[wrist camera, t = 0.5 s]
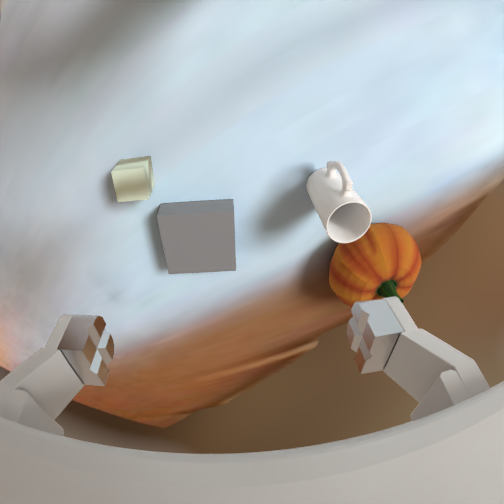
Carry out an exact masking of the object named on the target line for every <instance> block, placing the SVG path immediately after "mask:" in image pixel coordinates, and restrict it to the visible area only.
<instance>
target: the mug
mask: <svg viewBox="0 0 504 504" xmlns="http://www.w3.org/2000/svg"><path fill="white" fill-rule="evenodd" d="M336 169H337V170H338V171H339V172H340V174H339V173H338V172H337V171H336ZM352 185H353V183H352V182H351V180H350V177H349V175H348V173H347V171H346V169H345V167H344V166H343V165H342V164H341V163H340V162H338V161H329V162H327V168H321V169H318V170H316V171H314V172H313V173H312V174H311V175H310V177H309V178H308V180H307V185H306V187H307V192H308V194H309V196H310V198H311V201H312V203H313V205H314V207H315V209H316V211H317V213H318V215H319V217H320V219H321V221H322V223H323V226H324V228H325V229H326V231H327V234H328V235H329V237H330V238H331V239H332V240H334V241H336V242H338V243H350V242H353V241H355V240H357V239H359V238H360V237H362V236H363V235H364V234H365V233H366V231H367V230H368V228H369V226H370V224H371V219H372V216H371V212H370V209H369V208H368V207H367V206H366V204H365V203H364V202H363V200H362V199H361V198H360V197H359V196H358V195H357V193H356V192H355V191H354V190H353V189H352Z"/></svg>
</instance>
